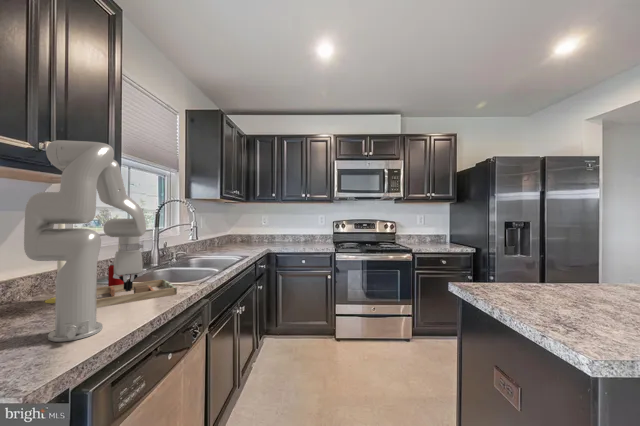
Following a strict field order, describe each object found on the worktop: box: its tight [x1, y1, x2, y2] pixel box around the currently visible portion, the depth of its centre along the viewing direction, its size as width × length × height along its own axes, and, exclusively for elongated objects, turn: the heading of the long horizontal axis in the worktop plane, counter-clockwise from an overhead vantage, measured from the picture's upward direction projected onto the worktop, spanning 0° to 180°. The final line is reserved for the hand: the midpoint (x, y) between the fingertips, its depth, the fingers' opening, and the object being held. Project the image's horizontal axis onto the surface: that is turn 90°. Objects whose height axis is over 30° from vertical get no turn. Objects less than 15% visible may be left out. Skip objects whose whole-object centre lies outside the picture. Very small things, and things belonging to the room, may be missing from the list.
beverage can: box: [107, 262, 124, 287], centre depth 140 cm, size 7×7×12 cm
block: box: [133, 285, 149, 294], centre depth 129 cm, size 5×5×4 cm
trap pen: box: [96, 278, 178, 309], centre depth 129 cm, size 22×30×3 cm
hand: (128, 290), depth 125 cm, fingers closed
